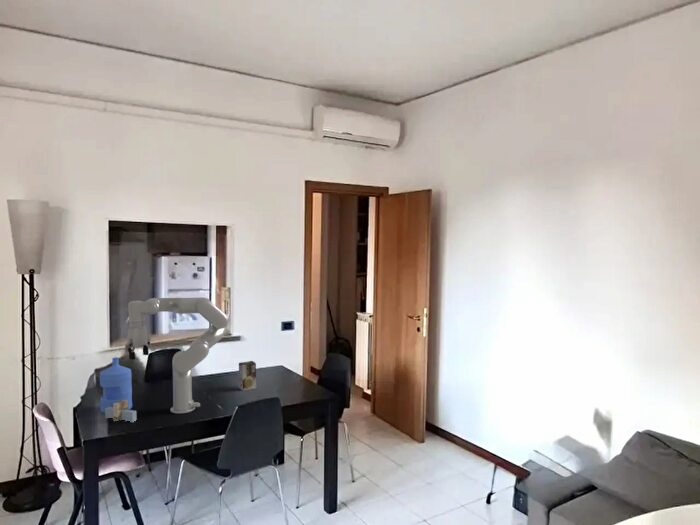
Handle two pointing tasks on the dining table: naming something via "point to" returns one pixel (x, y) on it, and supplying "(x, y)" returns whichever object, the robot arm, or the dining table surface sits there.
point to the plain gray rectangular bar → (126, 414)
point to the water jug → (115, 385)
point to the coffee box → (247, 375)
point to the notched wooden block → (119, 409)
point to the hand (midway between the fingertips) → (139, 357)
